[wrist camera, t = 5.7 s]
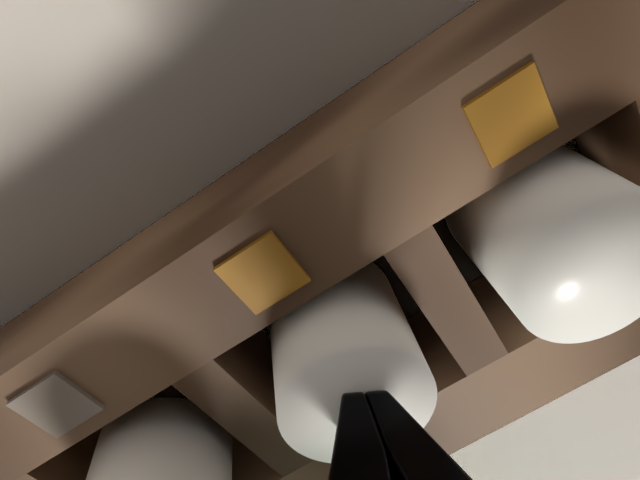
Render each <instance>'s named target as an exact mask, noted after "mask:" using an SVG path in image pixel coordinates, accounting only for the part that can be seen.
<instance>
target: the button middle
mask: <svg viewBox="0 0 640 480" xmlns="http://www.w3.org/2000/svg"><path fill="white" fill-rule="evenodd" d="M269 327H270V340H271V352H272V365H273V378H274V391H275V404H276V417H277V424H278V429H279V431H280V433H281V436H282V437H283V439H284V440H285V441H286V443H287V444H288V445H289V446H290V447H291V448H293V449H294V450H295V451H297V452H298V453H300V454H302V455H303V456H305V457H308V458H310V459H313V460H316V461H320V462H325V463H331V459H332V453H333V447H334V440H335V434H336V428H337V422H338V416H339V410H340V404H341V398H342V395H343V394H344V393H351V392H363V393H364V394H365V393H366V392H368V391H377V390H386V391H388V392H389V393H390V394H391V395H392V396H393V397H394V398H395V399H396V400H397V401H398V402H399V403H400V404H401V405H402V406H403V407H404V408H405V410H406V411H407V412H408V413H409V414H410V415H411V416H412V417H413V418H414V419H415V420H416V421H417V422H418V423H419V424H420V425H421V426H422V427H423V428H424V427H425V426H426V424H427V423H428V422H429V420H430V418H431V416H432V414H433V412H434V409H435V407H436V402H437V386H436V382H435V379H434V377H433V375H432V372H431V370H430V368H429V366H428V364H427V362H426V360H425V358H424V355H423V353H422V351H421V349H420V347H419V345H418V343H417V341H416V338H415V336H414V334H413V332H412V330H411V328H410V326H409V324H408V321H407V319H406V317H405V315H404V313H403V311H402V309H401V307H400V304H399V302H398V300H397V298H396V296H395V294H394V292H393V290H392V287H391V285H390V283H389V281H388V279H387V277H386V276H385V274H384V273H383V271H382V270H381V269H380V268H379V267H378V266H377V265H376V264H374V263H373V262H371V263H370V264H368V265H366V266H365V267H363V268H361V269H360V270H358V271H356V272H355V273H353V274H352V275H350V276H348V277H347V278H345V279H343V280H342V281H340V282H339V283H337V284H335V285H334V286H332V287H330V288H329V289H327V290H325V291H324V292H322V293H321V294H319V295H317V296H316V297H314V298H312V299H311V300H309V301H308V302H306V303H304V304H303V305H301V306H299V307H298V308H296V309H294V310H293V311H291V312H290V313H288V314H286V315H285V316H283V317H281V318H280V319H278V320H276V321H275V322H273V323H272V324H270V325H269Z"/></svg>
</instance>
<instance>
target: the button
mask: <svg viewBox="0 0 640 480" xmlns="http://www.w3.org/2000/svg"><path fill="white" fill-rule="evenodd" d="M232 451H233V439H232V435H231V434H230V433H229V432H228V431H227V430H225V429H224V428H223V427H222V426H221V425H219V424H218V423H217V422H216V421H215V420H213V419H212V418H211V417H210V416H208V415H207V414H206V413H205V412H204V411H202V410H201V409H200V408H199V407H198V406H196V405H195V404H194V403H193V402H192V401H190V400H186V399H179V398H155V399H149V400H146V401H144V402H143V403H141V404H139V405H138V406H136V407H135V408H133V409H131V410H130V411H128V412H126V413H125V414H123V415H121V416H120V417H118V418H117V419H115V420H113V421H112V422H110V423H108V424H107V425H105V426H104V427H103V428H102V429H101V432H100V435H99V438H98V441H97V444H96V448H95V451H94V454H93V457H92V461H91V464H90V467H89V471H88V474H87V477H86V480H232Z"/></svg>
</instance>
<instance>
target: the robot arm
mask: <svg viewBox="0 0 640 480" xmlns="http://www.w3.org/2000/svg"><path fill="white" fill-rule="evenodd" d="M328 480H472V479H471V478H470V477H469V475H468V474H467V473H466V472H465V471H464V470H463V469H462V468H461V467H460V466H459V465H458V464H457V463H456V462H455V461H454V460H453V459H452V458H451V457H450V456H449V455H448V453H447V452H446V451H445V450H444V449H443V448H442V447H441V446H440V445H439V444H438V443H437V442H436V441H435V440H434V439H433V438H432V437H431V436H430V435H429V434H428V433H427V432H426V430H425V429H424V428H423V427H422V426H421V425H420V424H419V423H418V422H417V421H416V420H415V419H414V418H413V417H412V416H411V415H410V414H409V413H408V412H407V411H406V410H405V408H404V407H403V406H402V405H401V404H400V403H399V402H398V401H397V400H396V399H395V398H394V397H393V396H392V395H391V394H390V393H389V392H388V391H386V390H377V391H368V392H366V393H365V394H364V393H363V392H351V393H344V394H343V395H342V398H341V404H340V410H339V416H338V422H337V428H336V434H335V440H334V447H333V453H332V459H331V465H330V471H329V477H328Z"/></svg>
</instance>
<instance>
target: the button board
mask: <svg viewBox="0 0 640 480" xmlns="http://www.w3.org/2000/svg"><path fill="white" fill-rule="evenodd" d="M574 138H575V139H576V142H577V145H578V148H579V150H580V153H581V155H583V156H585V157H586V158H588V159H590V160H592V161H594V162H596V163H597V164H599V165H601V166H603V167H605V168H607V169H608V170H610V171H612V172H614V173H616V174H618V175H619V176H621V177H623V178H625V179H627V180H629V181H630V182H632V183H634V184H636V185H638V186H640V0H479V1H478V2H476V3H475V4H473V5H472V6H470V7H469V8H468V9H466V10H465V11H463V12H462V13H460V14H459V15H457V16H456V17H454V18H453V19H451V20H450V21H449V22H447V23H446V24H444V25H443V26H441V27H440V28H438V29H437V30H435V31H434V32H432V33H431V34H430V35H428V36H427V37H425V38H424V39H422V40H421V41H419V42H418V43H416V44H415V45H413V46H412V47H411V48H409V49H408V50H406V51H405V52H403V53H402V54H400V55H399V56H397V57H396V58H394V59H393V60H392V61H390V62H389V63H387V64H386V65H384V66H383V67H381V68H380V69H378V70H377V71H376V72H374V73H373V74H371V75H370V76H368V77H367V78H365V79H364V80H362V81H361V82H359V83H358V84H357V85H355V86H354V87H352V88H351V89H349V90H348V91H346V92H345V93H343V94H342V95H340V96H339V97H338V98H336V99H335V100H333V101H332V102H330V103H329V104H327V105H326V106H324V107H323V108H321V109H320V110H319V111H317V112H316V113H314V114H313V115H311V116H310V117H308V118H307V119H305V120H304V121H302V122H301V123H300V124H298V125H297V126H295V127H294V128H292V129H291V130H289V131H288V132H286V133H285V134H283V135H282V136H281V137H279V138H278V139H276V140H275V141H273V142H272V143H270V144H269V145H267V146H266V147H265V148H263V149H262V150H260V151H259V152H257V153H256V154H254V155H253V156H251V157H250V158H248V159H247V160H246V161H244V162H243V163H241V164H240V165H238V166H237V167H235V168H234V169H232V170H231V171H229V172H228V173H227V174H225V175H224V176H222V177H221V178H219V179H218V180H216V181H215V182H213V183H212V184H210V185H209V186H208V187H206V188H205V189H203V190H202V191H200V192H199V193H197V194H196V195H194V196H193V197H191V198H190V199H189V200H187V201H186V202H184V203H183V204H181V205H180V206H178V207H177V208H175V209H174V210H172V211H171V212H170V213H168V214H167V215H165V216H164V217H162V218H161V219H159V220H158V221H156V222H155V223H154V224H152V225H151V226H149V227H148V228H146V229H145V230H143V231H142V232H140V233H139V234H137V235H136V236H135V237H133V238H132V239H130V240H129V241H127V242H126V243H124V244H123V245H121V246H120V247H118V248H117V249H116V250H114V251H113V252H111V253H110V254H108V255H107V256H105V257H104V258H102V259H101V260H99V261H98V262H97V263H95V264H94V265H92V266H91V267H89V268H88V269H86V270H85V271H83V272H82V273H80V274H79V275H78V276H76V277H75V278H73V279H72V280H70V281H69V282H67V283H66V284H64V285H63V286H61V287H60V288H59V289H57V290H56V291H54V292H53V293H51V294H50V295H48V296H47V297H45V298H44V299H43V300H41V301H40V302H38V303H37V304H35V305H34V306H32V307H31V308H29V309H28V310H26V311H25V312H24V313H22V314H21V315H19V316H18V317H16V318H15V319H13V320H12V321H10V322H9V323H7V324H6V325H5V326H3V327H2V328H0V480H86V477H87V474H88V471H89V467H90V464H91V461H92V457H93V454H94V451H95V448H96V444H97V441H98V438H99V435H100V432H101V429H102V428H103V427H104V426H105V425H107V424H108V423H110V422H112V421H113V420H115V419H117V418H118V417H120V416H121V415H123V414H125V413H126V412H128V411H130V410H131V409H133V408H135V407H136V406H138V405H139V404H141V403H143V402H144V401H146V400H148V399H149V398H151V397H152V396H154V395H156V394H157V393H159V392H161V391H162V390H164V389H166V388H167V387H169V386H170V385H172V386H173V387H175V388H176V389H177V390H178V391H179V392H181V393H182V394H183V395H184V396H185V397H187V398H188V399H189V400H190V401H192V402H193V403H194V404H195V405H196V406H198V407H199V408H200V409H201V410H202V411H204V412H205V413H206V414H207V415H208V416H210V417H211V418H212V419H213V420H215V421H216V422H217V423H218V424H219V425H221V426H222V427H223V428H224V429H225V430H227V431H228V432H229V433H230V434H231V435H232V439H233V451H232V480H328V477H329V471H330V465H331V463H325V462H320V461H316V460H313V459H310V458H308V457H305V456H303V455H302V454H300V453H298V452H297V451H295V450H294V449H293V448H291V447H290V446H289V445H288V444H287V443H286V441H285V440H284V439H283V437H282V436H281V433H280V431H279V429H278V424H277V417H276V404H275V391H274V378H273V365H272V352H271V340H270V339H269V338H268V337H267V336H266V335H265V334H264V333H263V332H262V331H261V330H262V329H263V328H265V327H267V326H268V325H270V324H272V323H273V322H275V321H276V320H278V319H280V318H281V317H283V316H285V315H286V314H288V313H290V312H291V311H293V310H294V309H296V308H298V307H299V306H301V305H303V304H304V303H306V302H308V301H309V300H311V299H312V298H314V297H316V296H317V295H319V294H321V293H322V292H324V291H325V290H327V289H329V288H330V287H332V286H334V285H335V284H337V283H339V282H340V281H342V280H343V279H345V278H347V277H348V276H350V275H352V274H353V273H355V272H356V271H358V270H360V269H361V268H363V267H365V266H366V265H368V264H370V263H371V262H373V261H374V260H376V259H378V258H379V257H381V256H383V255H384V257H385V258H386V260H387V261H388V263H389V264H390V266H391V267H392V269H393V270H394V271H395V273H396V274H397V276H398V277H399V279H400V280H401V282H402V283H403V284H404V286H405V287H406V289H407V290H408V292H409V293H410V295H411V296H412V298H413V299H414V300H415V302H416V303H417V305H418V306H419V308H420V309H421V311H420V312H419V313H417V314H415V315H414V316H412V317H410V318H408V319H407V321H408V324H409V326H410V328H411V330H412V332H413V334H414V336H415V338H416V341H417V343H418V345H419V347H420V349H421V351H422V353H423V355H424V358H425V360H426V362H427V364H428V366H429V368H430V370H431V372H432V375H433V377H434V379H435V382H436V386H437V402H436V407H435V409H434V412H433V414H432V416H431V418H430V420H429V422H428V423H427V424H426V426H425V427H424V429H425V430H426V432H427V433H428V434H429V435H430V436H431V437H432V438H433V439H434V440H435V441H436V442H437V443H438V444H439V445H440V446H441V447H442V448H443V449H444V450H445V451H446V452H447V453H448V455H450V454H452V453H454V452H456V451H458V450H459V449H461V448H463V447H465V446H467V445H469V444H471V443H473V442H475V441H477V440H479V439H480V438H482V437H484V436H486V435H488V434H490V433H492V432H494V431H496V430H498V429H500V428H502V427H503V426H505V425H507V424H509V423H511V422H513V421H515V420H517V419H519V418H521V417H523V416H524V415H526V414H528V413H530V412H532V411H534V410H536V409H538V408H540V407H542V406H544V405H545V404H547V403H549V402H551V401H553V400H555V399H557V398H559V397H561V396H563V395H565V394H566V393H568V392H570V391H572V390H574V389H576V388H578V387H580V386H582V385H584V384H586V383H587V382H589V381H591V380H593V379H595V378H597V377H599V376H601V375H603V374H605V373H607V372H608V371H610V370H612V369H614V368H616V367H618V366H620V365H622V364H624V363H626V362H628V361H629V360H631V359H633V358H635V357H637V356H639V355H640V317H639V318H638V319H637V320H635V321H634V322H632V323H631V324H629V325H627V326H626V327H624V328H622V329H621V330H618V331H616V332H614V333H612V334H610V335H607V336H605V337H602V338H599V339H596V340H592V341H588V342H582V343H573V344H562V343H555V342H550V341H547V340H543V339H541V338H539V337H537V336H535V335H534V334H532V333H531V332H529V331H528V330H527V329H526V327H525V326H524V325H523V324H522V323H521V322H520V320H519V319H518V318H517V317H516V315H515V314H514V313H513V311H512V310H511V309H510V308H509V306H508V305H507V304H506V303H505V301H504V300H503V299H502V298H501V296H500V295H499V294H498V293H497V291H496V290H495V289H494V287H493V286H492V285H491V284H490V282H489V281H488V280H487V279H486V277H485V276H484V275H482V276H481V277H479V278H477V279H475V280H474V281H472V282H470V283H469V284H467V283H466V281H465V279H464V278H463V276H462V274H461V273H460V271H459V269H458V268H457V266H456V264H455V263H454V261H453V259H452V258H451V256H450V254H449V253H448V251H447V249H446V248H445V246H444V244H443V243H442V241H441V239H440V237H439V236H438V234H437V232H436V231H435V229H434V227H433V226H432V225H433V224H435V223H436V222H438V221H440V220H441V219H443V218H445V217H446V216H448V215H449V214H451V213H453V212H454V211H456V210H458V209H459V208H461V207H463V206H464V205H466V204H467V203H469V202H471V201H472V200H474V199H476V198H477V197H479V196H480V195H482V194H484V193H485V192H487V191H489V190H490V189H492V188H494V187H495V186H497V185H498V184H500V183H502V182H503V181H505V180H507V179H508V178H510V177H511V176H513V175H515V174H516V173H518V172H520V171H521V170H523V169H525V168H526V167H528V166H529V165H531V164H533V163H534V162H536V161H538V160H539V159H541V158H543V157H544V156H546V155H547V154H549V153H551V152H552V151H554V150H556V149H557V148H559V147H560V146H562V145H564V144H565V143H567V142H569V141H570V140H572V139H574Z"/></svg>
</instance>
